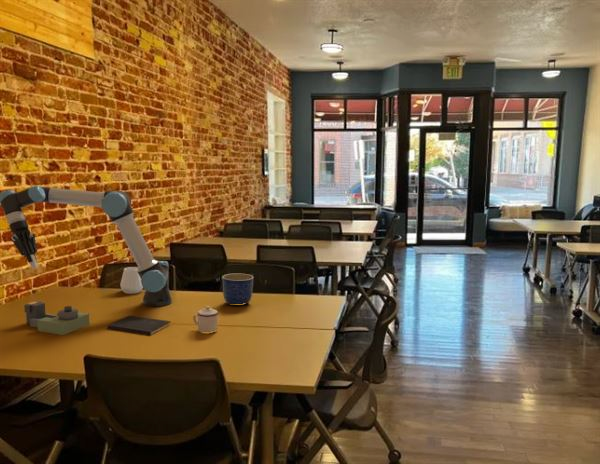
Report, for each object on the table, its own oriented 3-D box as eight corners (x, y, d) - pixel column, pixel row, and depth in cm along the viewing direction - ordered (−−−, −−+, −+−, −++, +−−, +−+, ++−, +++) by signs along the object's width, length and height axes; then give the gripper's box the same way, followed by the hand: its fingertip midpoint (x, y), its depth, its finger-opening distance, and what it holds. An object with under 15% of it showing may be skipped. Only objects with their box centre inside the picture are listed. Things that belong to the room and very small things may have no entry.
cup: (115, 293, 282) (115, 270, 280) (127, 288, 295) (127, 265, 293) (137, 295, 280) (137, 271, 278) (148, 289, 293) (148, 267, 291)
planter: (236, 298, 281) (237, 272, 279) (259, 303, 272) (259, 276, 269) (215, 304, 268) (215, 276, 266) (238, 310, 258) (238, 282, 256)
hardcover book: (129, 319, 238) (129, 315, 238) (170, 326, 231) (170, 321, 231) (107, 330, 223) (107, 325, 223) (150, 336, 216) (150, 331, 216)
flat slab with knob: (89, 324, 228) (88, 303, 227) (63, 335, 213) (62, 312, 212) (51, 318, 235) (50, 298, 233) (23, 328, 220) (22, 307, 218)
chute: (47, 321, 230) (46, 302, 228) (35, 325, 223) (34, 305, 222) (36, 319, 232) (36, 300, 230) (25, 323, 225) (24, 304, 224)
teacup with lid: (221, 329, 227) (221, 305, 226) (211, 335, 219) (211, 310, 217) (198, 325, 231) (198, 301, 230) (188, 331, 223) (188, 307, 221)
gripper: (22, 224, 242) (40, 268, 241) (0, 226, 229) (18, 273, 229) (33, 218, 239) (51, 263, 239) (11, 220, 227) (30, 267, 226)
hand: (35, 268), depth 234 cm, fingers closed
